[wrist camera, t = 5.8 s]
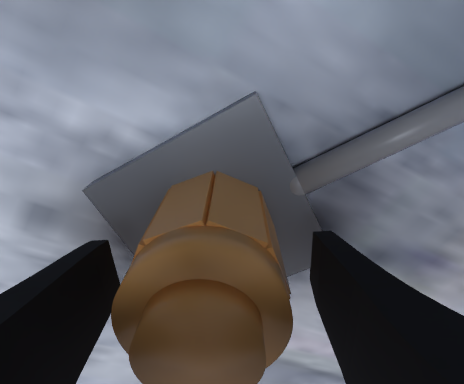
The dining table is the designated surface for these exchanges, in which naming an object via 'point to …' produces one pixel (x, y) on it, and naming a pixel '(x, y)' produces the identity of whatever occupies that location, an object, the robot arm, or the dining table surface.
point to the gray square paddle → (257, 168)
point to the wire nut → (205, 288)
